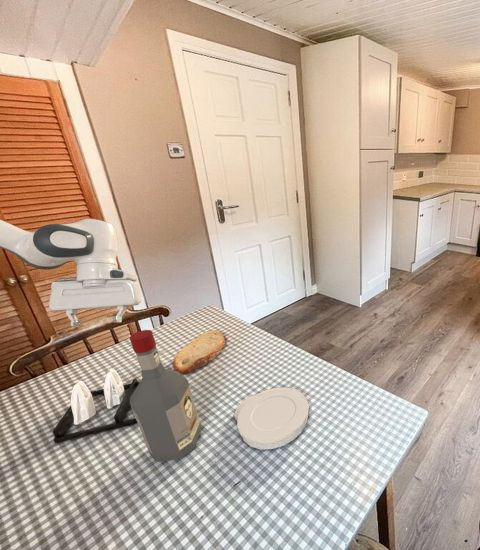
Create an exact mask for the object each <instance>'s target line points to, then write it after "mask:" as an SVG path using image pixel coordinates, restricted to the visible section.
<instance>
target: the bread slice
mask: <svg viewBox="0 0 480 550" xmlns="http://www.w3.org/2000/svg"><path fill="white" fill-rule="evenodd" d="M225 345H226V338H225V336H224V334H223V333H222V332H220V331H217V330H208V331H206V332H203V333H202V334H200V335H198V336H196V338H194V339H193V340H191V342H189V343H188V344H186V345H185V346H184V347H183V348H182V349H181V350H179V351H178V352H177V354H176V355H175V357H174V358H173V361H172V369H173V371H177V372H179V373H181V374H182V375H183V374H190V373H193V372H194V371H196V370H197V369H199V368H201V367H204V366H206V365H208V364H209V363H211V362H212V361H213V360H214V359H216V358H217V357H218V356H219V354H221V351H222V349H224V347H225Z"/></svg>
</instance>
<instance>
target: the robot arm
mask: <svg viewBox="0 0 480 550" xmlns="http://www.w3.org/2000/svg"><path fill="white" fill-rule="evenodd" d="M118 240H119V239H118V234H117V231H116V229H115V227H114V225H112V224H111V223H109V222H107V221H105V220H103V219H98V218H83V219H80V220H79V221H75V222H70V223H50V224H44V225H42V226H40V227H39V228H37V229H36V230H34V231H33V232H32V231H28V230H24V229H23V228H20V227H17V226H16V225H13V224H11V223H9V222H7V221H4V220H3V219H0V249H2V250H5V251H8V252H10V253H11V254H13V255H14V256H15V257H17V258H18V259H19V260H21V262H23V263H24V264H26V265H28V266H29V267H31V268H35V269H37V270H44V271H45V270H47V271H49V270H50V271H51V270H55V269H59V268H61V267H63V266H65V265H66V264H67V263H68V262H75V263H76V276H71V277H59V278H57V279H55V280H53V282H52V283H51V285H50V286H51V288H50V290H51V292H50V296H49V301H48V308H49V309H50V310H51V311H53V312H65V315H66V316H67V318H68V319H69V320H70V326H71V328H72V327H73V328H74V327H81V326H82V319H78V317H77V316H76V315H77V314H78V311H80V310H81V311H82V310H94V309H95V310H96V309H108V308H116V310H117V311H118V312H117V314H116V315H115V316H112V323H113V324H117V323H122V321H123V316H124V314H125V313H126V312H127V307H133V306H139V305H140V304H141V303H142V290H141V287H140V284H139V283H138V282H137V281H138V275H137V274H135V273H133V272H130V271H127V270H124V269H119V265H118V261H117V255H118V253H119V243H118V242H119V241H118Z"/></svg>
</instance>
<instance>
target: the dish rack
mask: <svg viewBox="0 0 480 550" xmlns="http://www.w3.org/2000/svg"><path fill="white" fill-rule="evenodd" d="M139 383H140V381H138V379H137V378H133V379H132V381H131V383H125V384H123V387H124V391H125V390H127V391H126V392H125V396H124V398H123V400H122V402H121V404H119V406H118V408H117V410H116V412H115V414H114V416H113V420H114V422H113V423H110V424H103V425H101V426H97V427H92V428H88V429H84V430H79V431H76V432H71V433H67V432H68V430H69V428H70V427H71V425H72V424H73V423H74V416H73V412H72V407H71V405H70V406H69V407H68V409H67V410H66V411H65V412H64V414H63V416H62V417H61V419H60V420H59V421H58V423H57V424H56V425H55V427H54V428H53V430H51V431H52V434H53V436H54V438H53V442H54V444H59V443H63V442H67V441H71V440H75V439H79V438H83V437H84V438H85V437H88V436H91V435H92V436H93V435H96V434H100V433H104V432H108V431H112V430H117V429H120V428H124V427H129V426H133V425H136V424H137V425H138V423H137V420H136V418H135V417H134V418H130V419H126V420H125V418H126V416H127V414H128V412H129V410H130V407H131V405H130V397H131V396H132V394H133V392H134V391H135V389H136V388H137V386H138V385H139ZM90 392H91V394H92V397H96V396H100V395H105V394H104V388H101V389H96V390H92V391H90ZM66 433H67V434H66Z"/></svg>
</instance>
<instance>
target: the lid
mask: <svg viewBox="0 0 480 550" xmlns="http://www.w3.org/2000/svg"><path fill="white" fill-rule="evenodd" d="M309 406H310V405H309V402H308V399H307V397H306V396H305V395H304V394H303V392H300V391H299V390H298V389H295V388H291V387H288V386H287V387H285V386H283V387H273V388H270V389H266V390H264V391H262V392H259V393H255V394H253V395H250V396H247V398H245V399H243V400H242V401H241V402H240V403H239V404H238V405H237V407H236V408H235V411H234V414H233V417H234V419H235V420H236V422H237V423H236V427H237V430H238V433H239V436H241V438H242V440H243V442H245V443H246V444H247V445H248V447H251V448H254V449H258V450H274V449H278V448H281V447H283V446H285V445H287V444H289V443H291V442H292V441H294V440H295V439H296V438H297V437H298V436H299V435H300V434H301V433H302V432H303V431H304V429H305V427H306V425H307V423H308V417H309V411H310V407H309Z"/></svg>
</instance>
